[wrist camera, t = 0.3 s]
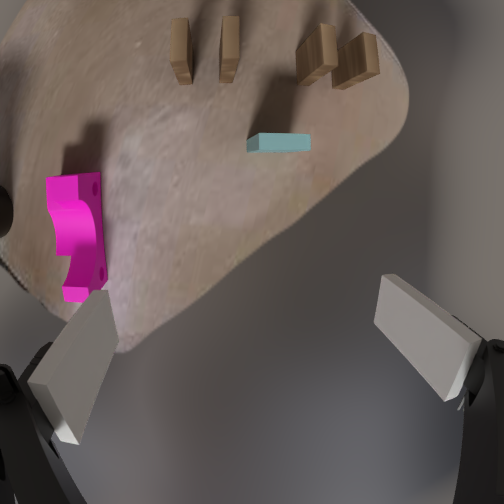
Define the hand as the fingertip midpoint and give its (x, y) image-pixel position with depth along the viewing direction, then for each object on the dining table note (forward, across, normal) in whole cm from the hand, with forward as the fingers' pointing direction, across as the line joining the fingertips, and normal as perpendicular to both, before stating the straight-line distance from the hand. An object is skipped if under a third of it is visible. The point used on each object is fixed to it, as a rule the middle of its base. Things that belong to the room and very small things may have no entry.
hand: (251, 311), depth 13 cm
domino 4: (+26, +10, +20) cm, 34 cm away
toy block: (+27, -20, -1) cm, 33 cm away
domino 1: (+26, -5, +19) cm, 33 cm away
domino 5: (+26, +15, +20) cm, 36 cm away
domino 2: (+26, 0, +19) cm, 33 cm away
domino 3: (+26, +5, +8) cm, 28 cm away
